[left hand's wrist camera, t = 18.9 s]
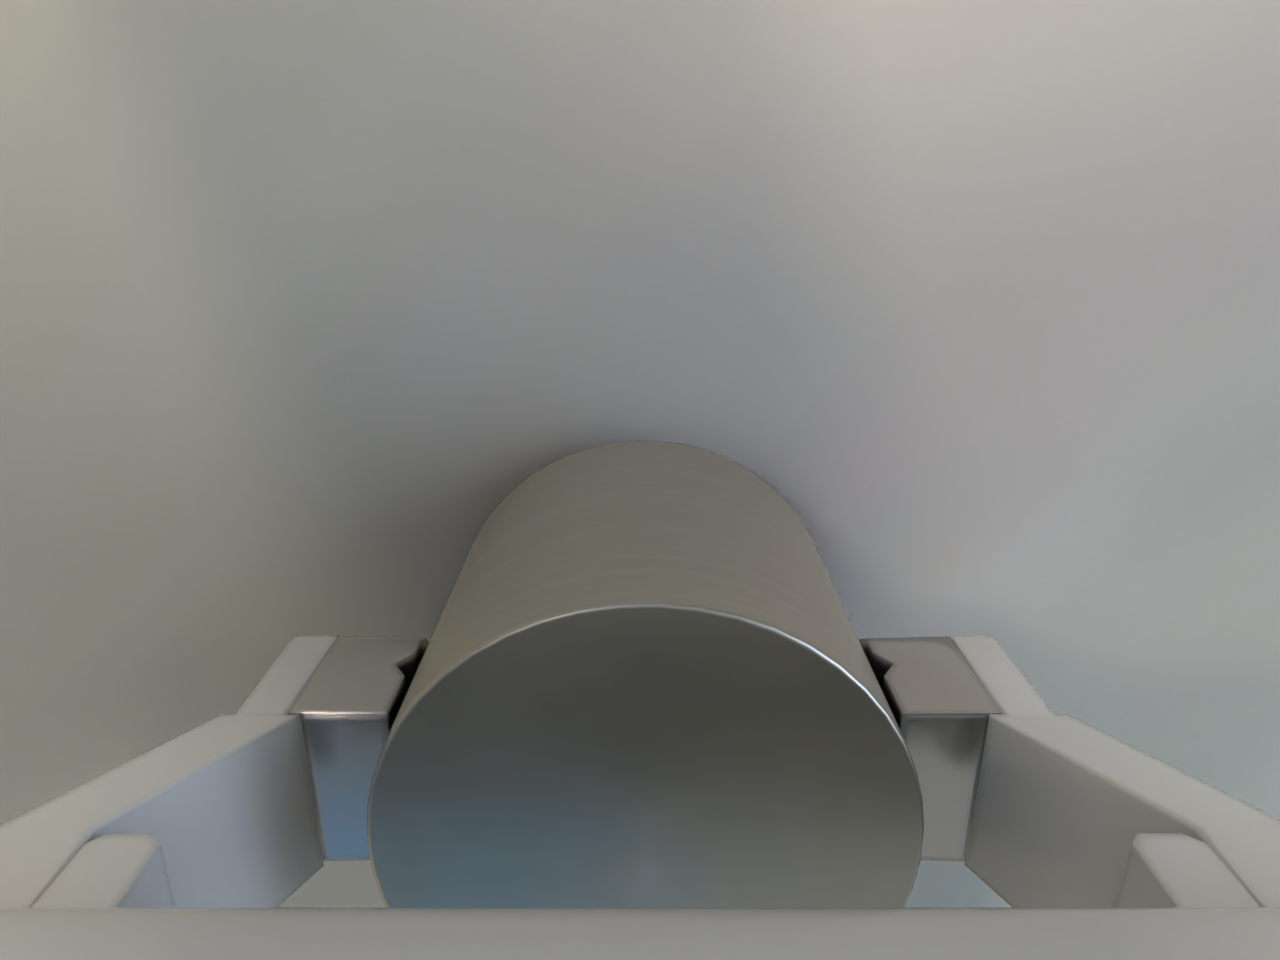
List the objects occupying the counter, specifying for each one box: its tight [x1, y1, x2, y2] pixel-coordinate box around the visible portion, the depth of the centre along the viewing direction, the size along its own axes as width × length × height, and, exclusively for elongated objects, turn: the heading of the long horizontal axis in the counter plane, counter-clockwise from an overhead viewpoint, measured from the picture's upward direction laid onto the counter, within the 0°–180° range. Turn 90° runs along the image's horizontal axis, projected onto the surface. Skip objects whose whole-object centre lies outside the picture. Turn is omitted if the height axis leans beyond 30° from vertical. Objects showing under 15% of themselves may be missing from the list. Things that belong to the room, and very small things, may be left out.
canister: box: [367, 441, 924, 908], centre depth 10 cm, size 5×5×4 cm
